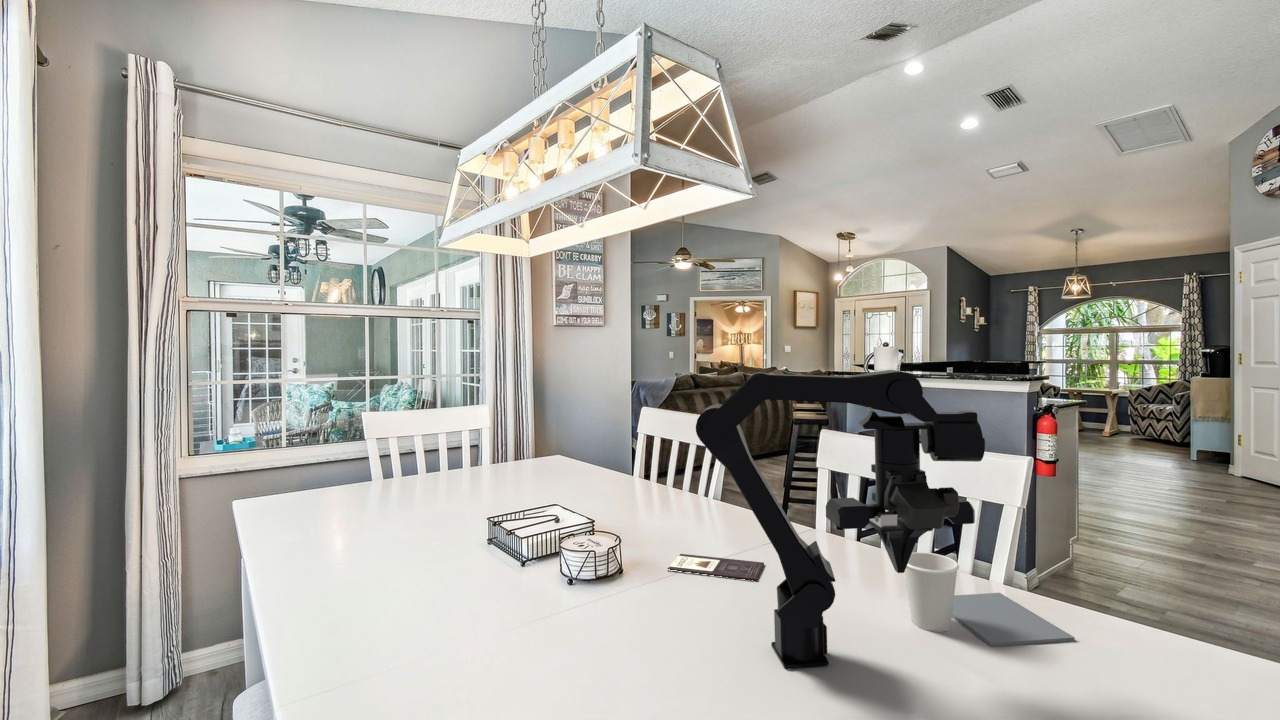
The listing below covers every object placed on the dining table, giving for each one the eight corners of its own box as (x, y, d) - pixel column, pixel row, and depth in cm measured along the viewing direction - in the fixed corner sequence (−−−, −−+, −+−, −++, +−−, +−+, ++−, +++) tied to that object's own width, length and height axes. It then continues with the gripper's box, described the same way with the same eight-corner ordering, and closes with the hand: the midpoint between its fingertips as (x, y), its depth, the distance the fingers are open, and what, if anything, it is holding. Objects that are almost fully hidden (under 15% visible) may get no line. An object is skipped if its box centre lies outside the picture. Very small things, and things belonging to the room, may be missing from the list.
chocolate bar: (756, 579, 110) (667, 568, 117) (756, 584, 110) (667, 573, 117) (764, 562, 119) (680, 553, 125) (764, 567, 119) (680, 558, 125)
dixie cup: (971, 626, 91) (970, 563, 91) (940, 641, 86) (938, 575, 86) (921, 606, 98) (920, 548, 98) (890, 619, 94) (889, 558, 93)
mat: (991, 646, 85) (991, 643, 85) (928, 599, 100) (928, 597, 100) (1074, 640, 85) (1074, 637, 85) (999, 595, 101) (999, 592, 101)
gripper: (855, 475, 72) (858, 600, 72) (1001, 470, 73) (1003, 593, 73) (823, 458, 83) (825, 566, 83) (949, 454, 84) (951, 561, 84)
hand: (899, 572), depth 80 cm, fingers closed
